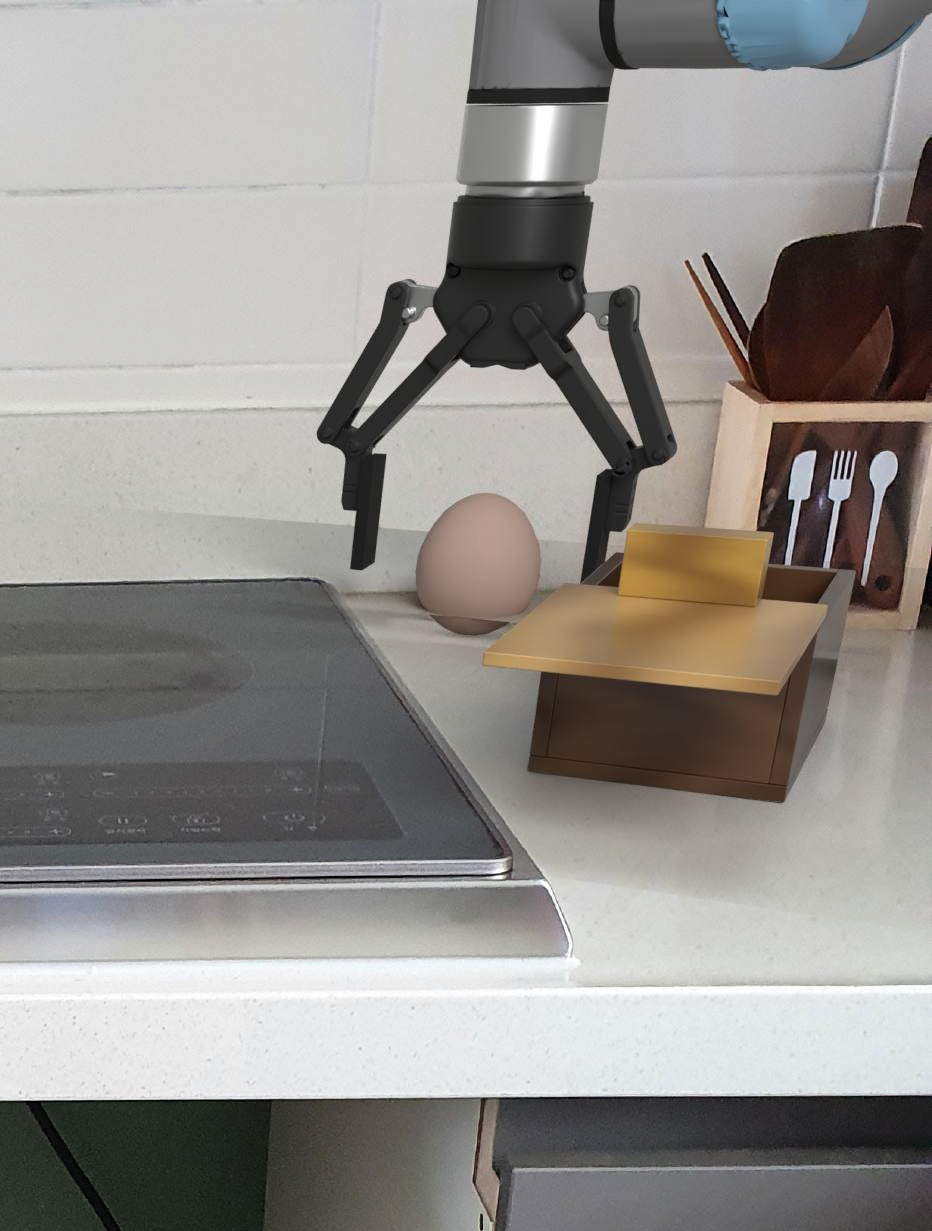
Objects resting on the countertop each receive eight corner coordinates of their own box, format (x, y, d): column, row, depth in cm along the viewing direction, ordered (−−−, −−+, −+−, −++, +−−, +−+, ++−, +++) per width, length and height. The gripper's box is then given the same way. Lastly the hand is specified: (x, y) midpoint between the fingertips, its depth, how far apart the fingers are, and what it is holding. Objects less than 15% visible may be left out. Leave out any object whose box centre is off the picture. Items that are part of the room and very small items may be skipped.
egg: (537, 626, 130) (556, 486, 126) (523, 651, 124) (543, 506, 120) (418, 617, 132) (434, 480, 129) (399, 642, 126) (415, 500, 123)
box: (825, 722, 109) (856, 570, 105) (784, 803, 97) (817, 634, 93) (593, 697, 114) (615, 551, 111) (526, 771, 102) (549, 610, 99)
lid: (825, 617, 95) (841, 536, 94) (777, 696, 83) (795, 605, 82) (562, 595, 101) (573, 518, 99) (481, 665, 89) (492, 579, 87)
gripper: (774, 189, 114) (703, 584, 124) (326, 186, 126) (292, 547, 135) (754, 196, 108) (681, 609, 118) (286, 191, 120) (253, 568, 129)
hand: (473, 577), depth 127 cm, fingers open, 13 cm apart
